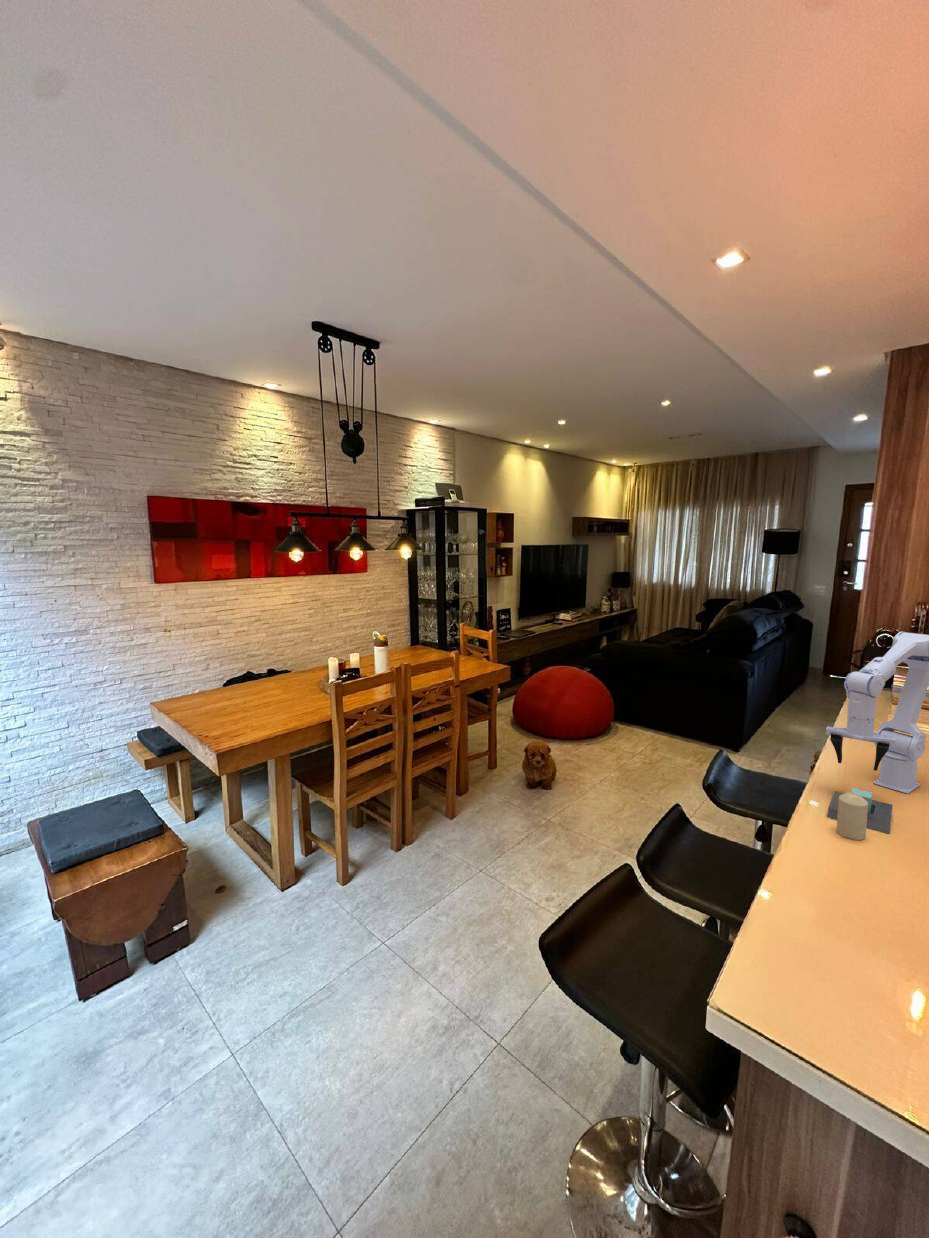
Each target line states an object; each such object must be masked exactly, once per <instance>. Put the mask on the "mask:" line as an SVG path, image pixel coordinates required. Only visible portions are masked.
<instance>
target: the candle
mask: <svg viewBox="0 0 929 1238" xmlns="http://www.w3.org/2000/svg"><path fill="white" fill-rule="evenodd" d="M867 813H868V802H867V801H866V800H865V799H864V798H862V797H861V796H859V795H858V794H856V793H854V792H851V791H846V792H845V794H843V795H841V796H839V802H838V817H837V820H836V832H837V834H839V835H840V836H843V837H845V838H846V839H849V840H855V841H862V840H865V839H866V835H867V828H866V826H867Z"/></svg>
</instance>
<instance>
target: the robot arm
mask: <svg viewBox="0 0 929 1238" xmlns="http://www.w3.org/2000/svg"><path fill="white" fill-rule="evenodd" d="M901 663H904V664H907V666H908V671H907V673H906V677H905V679H904V683H903V686H902V689H901V693H900V696H899V699H898V702H897V706H896V708H895V712H894V715H893V718H892V719H890V720H887V721H884V722H881V723H880V725H879V727H878V730H877V731H876V732H875V722H876V721H875V719H876V709H877V708H876V707H877V706H876V705H877V697H878V696H880V694H882V691H883V688H884V687H885V685H886V682H887V681H888V680H889V679H890V678H892V676H894V675H895V674H896V672H897V666H898V665H900V664H901ZM843 686H844V689H845V692H846V694H845V696H846V698H847V699H848V701H847V702H848V704H847V718H846V719H847V721H846V728H845V727H835V726H834V727H833V726H826V728H825V735H826V736H830V737H829V739H830V742H831V745H832V746H833V748H834V751H835V753H836V758H837V763H838V764H842V762H843V741H844V738H845V739H846V738H847V739H853V740H858V741H865V742H868V743H873V744H874V745H875V759H874V760H875V761H874V766H873V771H878V769H879V777H878V778H876V779H875V780H873V782H872V783H873V784H874V785H877V786H881V787H884V788H888V789H891V790H894V791H896V792H897V791H898V792H901V793H904V794H910V793H911V792H913V791H914V790H915V789H917V788H918V787H919V786H921V783H919V782H917V775H918V761H917V760H918V759H920V758H921V757H923V755H924V753H925V749H926V745H925V744H926V739H927V737H926V734H925V732H923V730H921V729H920V728H919V726H918V725H917V723H918V719H919V716H920V712H921V710H922V706H923V703H924V700H925V697H926V693H927V692H928V691H927V690H928V687H929V634H925V633H924V634H923V633H913V632H905V631H899V632H898V633H897V634H895V636H894V637H893V638H892V645H891V647H890V649H889V650H887V652H886V653H885V654H884V655H883V656H877V657H874V658H873V659H872V660H871V661H869V662H868V663H867V664H866V665H864V666H863V667H862V668H861V669H860V670H859V671H852V672H850V673H848V674H847V675H846V677H845V681H844V682H843ZM879 766H880V768H879Z"/></svg>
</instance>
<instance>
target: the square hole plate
mask: <svg viewBox="0 0 929 1238" xmlns="http://www.w3.org/2000/svg"><path fill="white" fill-rule="evenodd" d="M845 793H846V792H845ZM845 793H844V792H841V791H836V790H834V792H833V793H832V797H831V801H830V803H829V805H828V809H827V818H829V819H833V820H836V821H837V817H838V802H839V796H841V795H843V794H845ZM892 816H893V804H892V803H891V804H890V803H886V802H882V801H878V800H873V799H872V803H871V813H867V826H866V829H871V830H874V831H876V832H877V831H878V832H882V833H885V834H890V833H891V823H892Z"/></svg>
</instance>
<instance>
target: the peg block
mask: <svg viewBox="0 0 929 1238" xmlns="http://www.w3.org/2000/svg"><path fill="white" fill-rule="evenodd" d="M850 792H854V793H856V794H858V795H859V796H861V797H862V798H864V799H865V800H866V801H867V802H868V813H871V803H872V800H873V792H870V791H867V790H861V789H857V788H854V787H852V788H851V791H850Z"/></svg>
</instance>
